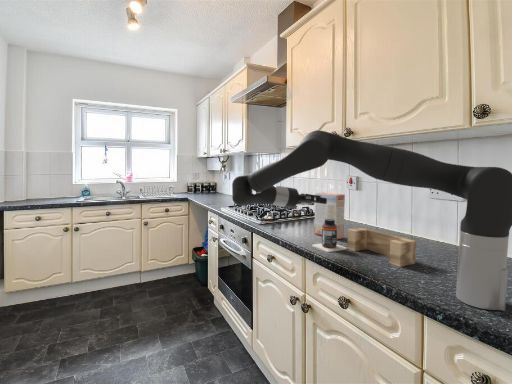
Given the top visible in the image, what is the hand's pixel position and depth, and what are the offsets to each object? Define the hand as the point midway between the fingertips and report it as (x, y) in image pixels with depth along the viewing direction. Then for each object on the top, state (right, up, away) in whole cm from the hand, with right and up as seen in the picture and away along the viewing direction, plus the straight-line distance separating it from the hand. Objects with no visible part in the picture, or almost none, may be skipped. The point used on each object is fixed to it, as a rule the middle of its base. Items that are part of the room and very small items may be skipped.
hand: (319, 202), depth 112 cm
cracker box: (+10, -18, +25) cm, 32 cm away
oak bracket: (+21, -20, -5) cm, 30 cm away
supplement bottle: (+5, -19, +5) cm, 20 cm away
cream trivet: (+5, -19, +5) cm, 20 cm away
